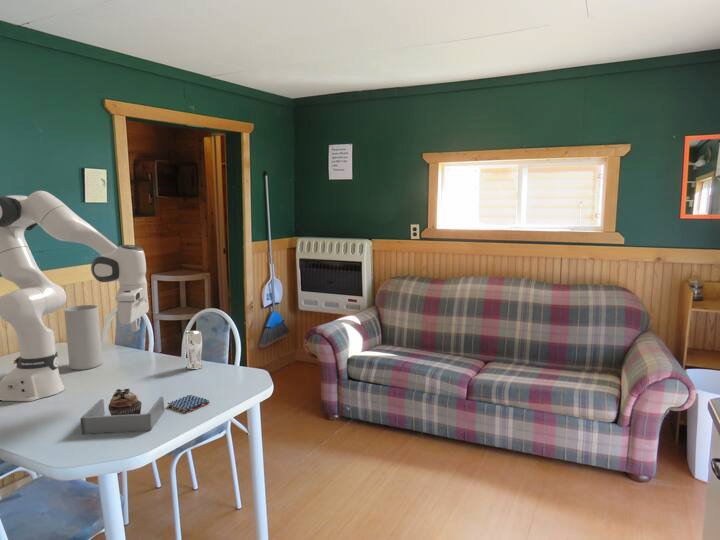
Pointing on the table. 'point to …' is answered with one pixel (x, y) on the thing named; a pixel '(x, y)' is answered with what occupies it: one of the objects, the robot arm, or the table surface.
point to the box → (120, 419)
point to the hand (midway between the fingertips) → (135, 330)
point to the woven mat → (188, 403)
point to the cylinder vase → (83, 337)
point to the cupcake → (124, 403)
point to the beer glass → (193, 349)
